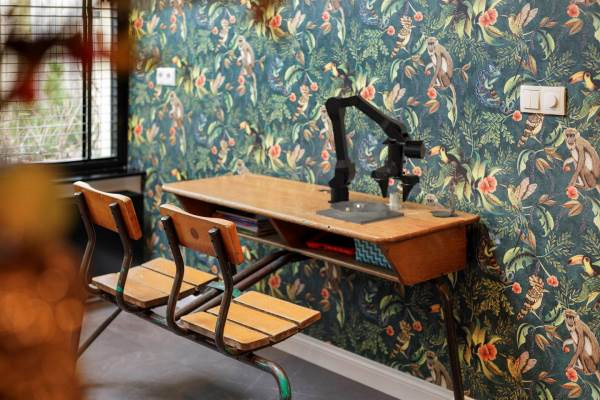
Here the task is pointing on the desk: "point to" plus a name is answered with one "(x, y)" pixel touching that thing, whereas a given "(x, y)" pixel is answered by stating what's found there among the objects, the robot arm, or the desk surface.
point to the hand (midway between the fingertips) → (394, 200)
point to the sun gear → (359, 207)
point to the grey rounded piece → (451, 207)
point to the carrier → (360, 220)
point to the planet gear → (394, 202)
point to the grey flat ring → (350, 214)
